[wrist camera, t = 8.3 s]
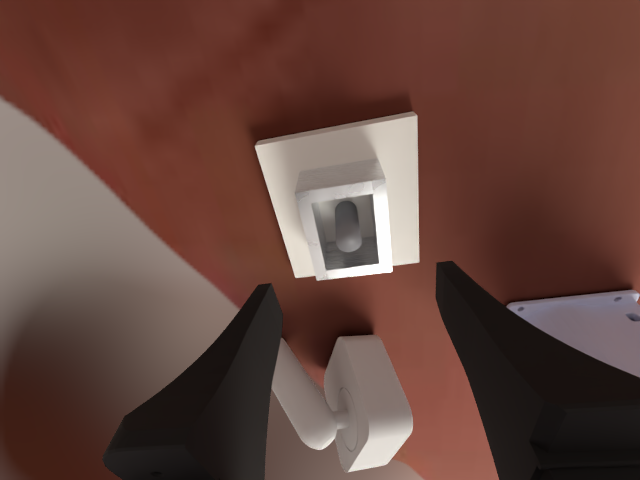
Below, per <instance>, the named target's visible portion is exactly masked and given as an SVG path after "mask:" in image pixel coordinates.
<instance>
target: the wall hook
mask: <svg viewBox="0 0 640 480" xmlns="http://www.w3.org/2000/svg"><path fill="white" fill-rule="evenodd" d="M271 388H272V390H273V391H274V393H275V395H276V396H277V398H278V400H279V402H280V404H281V405H282V407H283V409H284V410H285V412H286V414H287V416H288V417H289V419H290V421H291V423H292V425H293V426H294V428H295V430H296V431H297V433H298V435H299V437H300V438H301V440H302V441H303V442H304V443H305V444H306V445H308V446H309V447H311V448H314V449H318V450H320V449H324V448H325V447H327V446H328V445H329V444H330V443H331V442H332V441H333V440H334V439H335V441H336V445H337V450H338V454H339V459H340V462H341V465H342V468H343V470H344V471H345V472H351V471H356V470H362V469H367V468H372V467H377V466H383V465H386V464H387V463H388V462H389V461H390V460H391V458H392V457H393V456H394V455H395V453H396V452H397V451H398V450H399V448H400V447H401V446H402V445H403V443H404V442H405V441H406V439H407V438H408V437H409V436H410V434H411V432H412V429H413V417H412V412H411V408H410V405H409V403H408V401H407V398H406V396H405V394H404V391H403V389H402V387H401V384H400V382H399V379H398V377H397V375H396V373H395V370H394V368H393V366H392V363H391V361H390V359H389V356H388V354H387V352H386V349H385V347H384V345H383V342H382V340H381V339H380V337H379V336H377V335H361V336H343V337H338V339H337V341H336V344H335V347H334V349H333V352H332V355H331V358H330V361H329V363H328V366H327V369H326V372H325V376H324V390H325V396H326V400H327V402H326V401H325V399H324V398H323V396H322V395H321V393H320V392H319V390H318V389H317V387H316V386H315V384H314V383H313V381H312V380H311V378H310V377H309V376H308V374H307V373H306V371H305V370H304V368H303V367H302V365H301V364H300V362H299V361H298V359H297V358H296V356H295V355H294V353H293V352H292V350H291V349H290V347H289V346H288V344H287V343H286V342H285V340H284V339H283V338H281V341H280V346H279V351H278V356H277V361H276V366H275V371H274V376H273V381H272V387H271Z"/></svg>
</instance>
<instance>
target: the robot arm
mask: <svg viewBox="0 0 640 480" xmlns="http://www.w3.org/2000/svg"><path fill="white" fill-rule="evenodd" d="M638 298H639V293H638V292H637V291H635V290H625V291H615V292H606V293H597V294H587V295H578V296H569V297H559V298H550V299H540V300H531V301H522V302H513V303H510V304H508V305H507V306H504V305H503V304H502V303H500V302H499V301H498V300H497V299H495V298H494V297H493V296H491V295H490V294H489V293H488V292H487V291H485V290H484V289H483V288H482V287H481V286H479V285H478V284H477V283H476V282H475V281H474V280H473V279H471V278H470V277H469V276H468V275H467V274H466V273H465V272H464V271H463V270H462V269H460V268H459V267H458V266H457V265H456V264H455V263H454V262H453V261H446V262H438V263H437V266H436V301H437V304H438V307H439V311H440V314H441V317H442V320H443V322H444V325H445V327H446V329H447V331H448V334H449V336H450V338H451V340H452V343H453V345H454V347H455V349H456V352H457V354H458V356H459V358H460V360H461V363H462V365H463V367H464V370H465V372H466V375H467V377H468V380H469V383H470V386H471V389H472V392H473V395H474V398H475V401H476V404H477V407H478V410H479V413H480V416H481V419H482V423H483V426H484V429H485V432H486V436H487V439H488V442H489V446H490V449H491V452H492V456H493V459H494V463H495V466H496V470H497V473H498V477H499V480H640V305H639V304H638V303H636V302H637V300H638ZM282 322H283V313H282V311H281V308H280V305H279V303H278V300H277V297H276V294H275V292H274V289H273V286H272V284H271V283H269V284H261V285H258V286H257V287H256V289H255V290H254V291H253V293H252V294H251V296H250V297H249V298H248V300H247V301H246V303H245V304H244V305H243V307H242V308H241V309H240V311H239V312H238V314H237V315H236V316H235V317H234V319H233V320H232V321H231V323H230V324H229V325H228V326H227V328H226V329H225V330H224V331H223V332H222V334H221V335H220V336H219V337H218V338H217V340H216V341H215V342H214V343H213V344H212V345H211V346H210V347H209V348H208V349H207V350H206V351H205V352H204V353H203V354H202V355H201V356H200V357H199V358H198V359H197V360H196V361H195V362H194V363H193V364H192V365H191V366H189V367H188V368H187V369H186V370H185V371H184V372H183V373H182V374H181V375H180V376H178V377H177V378H176V379H175V380H174V381H172V382H171V383H170V384H169V385H167V386H166V387H165V388H163V389H162V390H161V391H160V392H159V393H157V394H156V395H154V396H153V397H152V398H150V399H149V400H147V401H146V402H145V403H143V404H142V405H140V406H139V407H137V408H136V409H135V410H133V411H132V412H131V413H129V414H128V415H126V416H125V417H124V418H123V420H122V422H121V424H120V425H119V427H118V429H117V431H116V433H115V435H114V436H113V438H112V440H111V442H110V444H109V446H108V447H107V449H106V451H105V453H104V455H103V462H104V464H105V466H106V467H107V468H108V469H109V470H110V471H111V472H113V473H114V474H115V475H117V476H118V477H120V478H121V479H122V480H264V476H265V474H264V473H265V455H266V438H267V424H268V414H269V403H270V393H271V387H272V381H273V376H274V371H275V366H276V361H277V356H278V351H279V346H280V341H281V336H282Z"/></svg>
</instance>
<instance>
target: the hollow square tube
mask: <svg viewBox="0 0 640 480" xmlns="http://www.w3.org/2000/svg"><path fill="white" fill-rule="evenodd" d="M367 194H369V196H370V205H371V215H372V224H373V234H374V236H370V237H363V238H361V239H362V243H361V246H360V247H359V248H358V249H357V250H355V251H352V252H344V251H342V250H340V249H339V248H338V247H337V245H336V241H333V242H326V237H325V232H324V227H323V223H322V218H321V213H320V208H319V204H318V202H322V201H328V200H335V199H341V198H348V197H354V196H361V195H367ZM295 196H296V200H297V204H298V208H299V212H300V216H301V220H302V224H303V228H304V232H305V236H306V240H307V244H308V248H309V252H310V255H311V259H312V263H313V267H314V271H315V275H316V279H317V281H319V280H327V279H335V278H343V277H352V276H360V275H368V274H377V273H385V272H392V259H391V245H390V230H389V216H388V202H387V187H386V177H385V175H384V172H383V170H382V167H381V164H380V162H379V159H378V158H375V159H369V160H363V161H357V162H351V163H345V164H339V165H333V166H327V167H321V168H315V169H309V170H303V171H300V172H299V176H298V181H297V185H296V190H295Z"/></svg>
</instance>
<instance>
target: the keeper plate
mask: <svg viewBox="0 0 640 480" xmlns="http://www.w3.org/2000/svg"><path fill="white" fill-rule="evenodd" d="M255 149H256V152H257V155H258V158H259V161H260V165H261V168H262V171H263V174H264V178H265V181H266V184H267V187H268V191H269V194H270V197H271V200H272V203H273V207H274V210H275V213H276V216H277V220H278V223H279V226H280V229H281V233H282V236H283V239H284V242H285V246H286V249H287V252H288V255H289V258H290V262H291V265H292V268H293V271H294V275H295V278H300V277H308V276H316V275H315V271H314V267H313V263H312V259H311V255H310V252H309V248H308V244H307V240H306V236H305V232H304V228H303V224H302V220H301V216H300V212H299V208H298V204H297V200H296V196H295V190H296V185H297V181H298V176H299V172H300V171H303V170H309V169H315V168H321V167H327V166H333V165H339V164H345V163H351V162H357V161H363V160H369V159H375V158H378V159H379V162H380V164H381V167H382V170H383V172H384V175H385V177H386V187H387V202H388V216H389V230H390V245H391V259H392V266H395V265H403V264H410V263H418V262H419V206H418V130H417V115H416V114H415V113H414V112H413V111H412V112H407V113H402V114H396V115H391V116H386V117H381V118H375V119H370V120H365V121H360V122H354V123H349V124H344V125H339V126H333V127H328V128H323V129H318V130H312V131H307V132H302V133H296V134H291V135H286V136H281V137H275V138H270V139H265V140H260V141H258V142H257V143H256V145H255ZM318 204H319V208H320V213H321V218H322V223H323V227H324V232H325V237H326V242H333V241H336V245H337V247H338V248H339V249H340V250H342V251H344V252H352V251H355V250H357V249H358V248H359V247H360V246H361V243H362V239H361V238H363V237H370V236H374V234H373V224H372V215H371V205H370V196H369V194H367V195H361V196H354V197H348V198H341V199H335V200H328V201H322V202H318Z"/></svg>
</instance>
